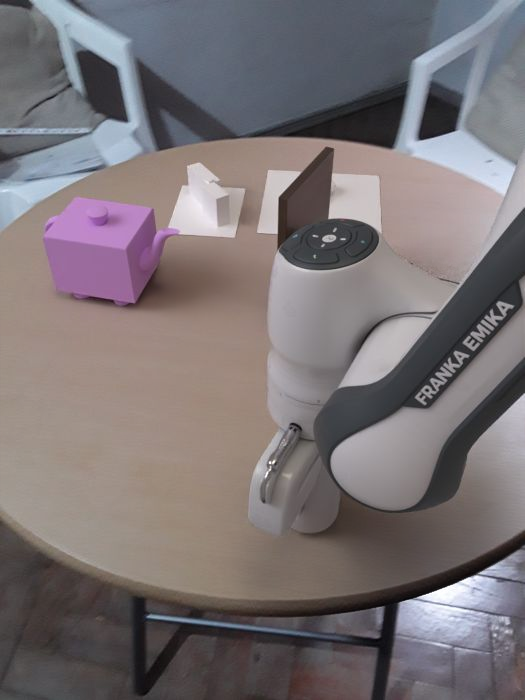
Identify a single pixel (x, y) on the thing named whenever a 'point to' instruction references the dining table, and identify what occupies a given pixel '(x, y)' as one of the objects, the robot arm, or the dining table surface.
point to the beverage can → (319, 505)
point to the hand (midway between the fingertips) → (310, 481)
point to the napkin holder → (206, 205)
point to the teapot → (104, 249)
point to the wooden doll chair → (306, 197)
